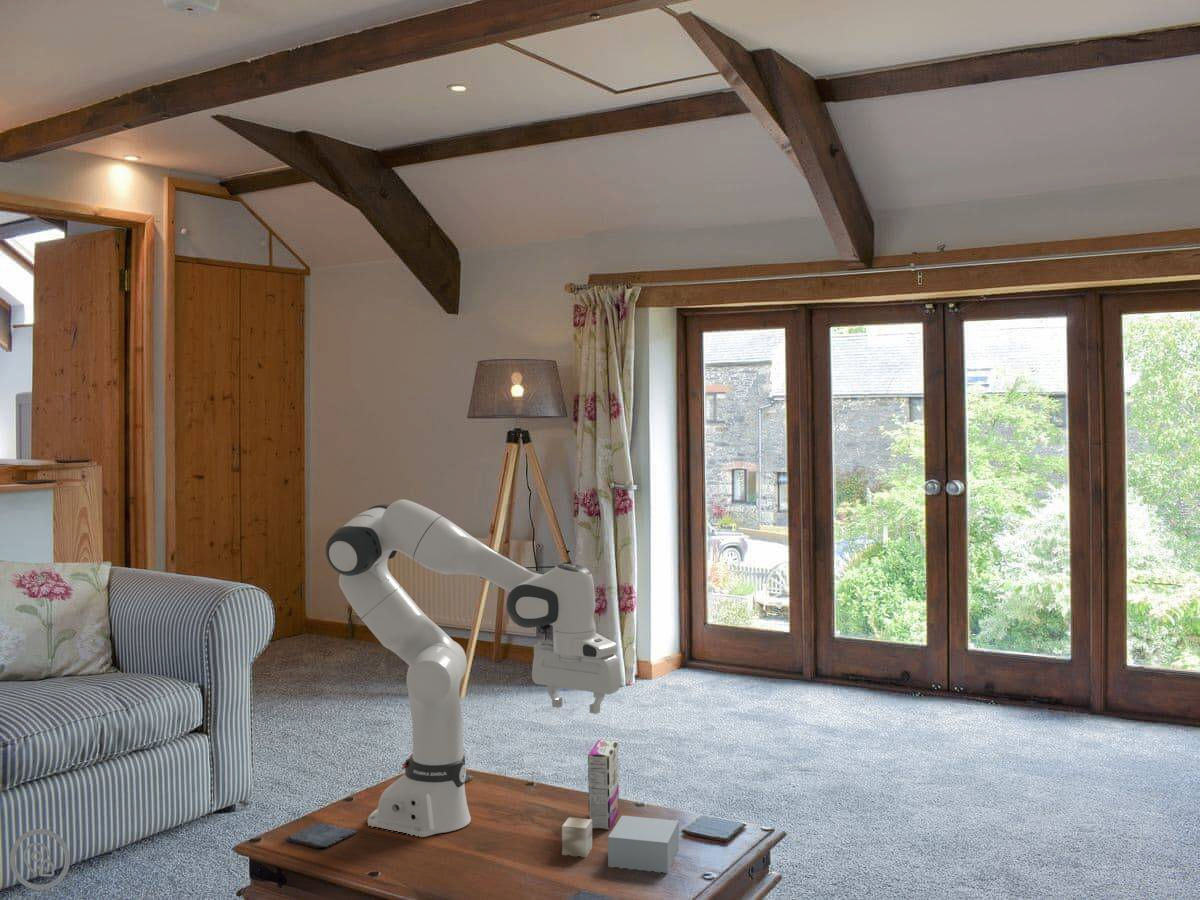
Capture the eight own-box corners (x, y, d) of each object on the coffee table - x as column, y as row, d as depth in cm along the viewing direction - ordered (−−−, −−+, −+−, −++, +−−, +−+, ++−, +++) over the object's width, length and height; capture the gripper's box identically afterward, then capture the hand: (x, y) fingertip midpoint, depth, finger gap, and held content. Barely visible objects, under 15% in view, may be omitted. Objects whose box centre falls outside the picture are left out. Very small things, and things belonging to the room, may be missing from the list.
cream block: (562, 855, 221) (562, 826, 221) (568, 845, 226) (568, 817, 226) (585, 857, 220) (585, 828, 220) (592, 848, 225) (592, 819, 225)
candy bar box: (597, 810, 246) (597, 738, 246) (619, 812, 245) (619, 740, 245) (587, 828, 235) (587, 753, 235) (609, 830, 234) (609, 755, 234)
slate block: (608, 866, 215) (608, 836, 215) (621, 843, 227) (622, 815, 227) (667, 873, 212) (667, 842, 212) (678, 849, 224) (678, 820, 224)
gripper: (525, 641, 227) (526, 706, 227) (607, 651, 215) (608, 720, 216) (543, 635, 232) (544, 700, 232) (624, 645, 221) (625, 712, 221)
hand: (575, 710), depth 224 cm, fingers open, 8 cm apart
